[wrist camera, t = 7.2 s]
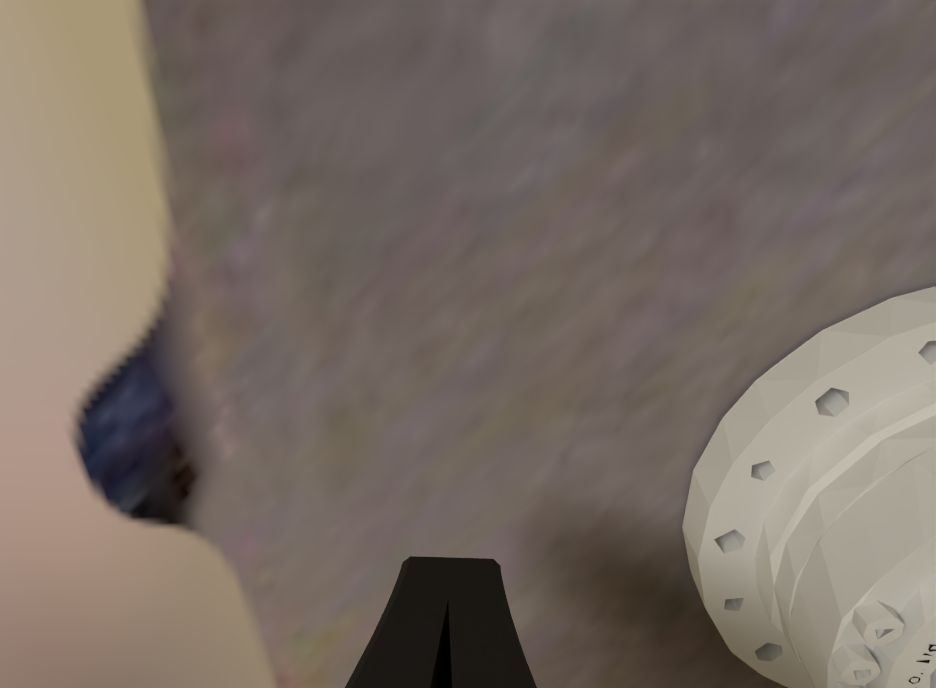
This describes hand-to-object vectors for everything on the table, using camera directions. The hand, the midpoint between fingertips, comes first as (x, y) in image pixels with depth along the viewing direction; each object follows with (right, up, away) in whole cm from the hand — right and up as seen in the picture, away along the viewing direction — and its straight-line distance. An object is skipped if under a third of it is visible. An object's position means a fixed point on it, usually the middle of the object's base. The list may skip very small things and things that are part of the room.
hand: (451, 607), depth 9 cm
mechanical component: (+10, +1, +4) cm, 11 cm away
